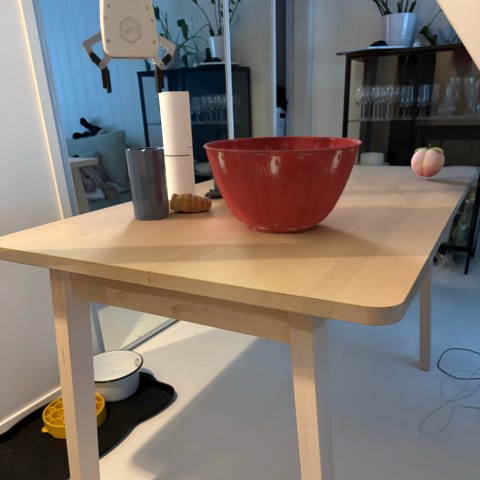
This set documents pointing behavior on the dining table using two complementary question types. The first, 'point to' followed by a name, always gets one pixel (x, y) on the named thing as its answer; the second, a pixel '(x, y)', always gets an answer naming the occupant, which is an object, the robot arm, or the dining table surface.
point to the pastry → (189, 203)
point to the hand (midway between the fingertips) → (134, 93)
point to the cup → (148, 183)
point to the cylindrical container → (177, 142)
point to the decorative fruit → (428, 161)
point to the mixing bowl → (282, 179)
